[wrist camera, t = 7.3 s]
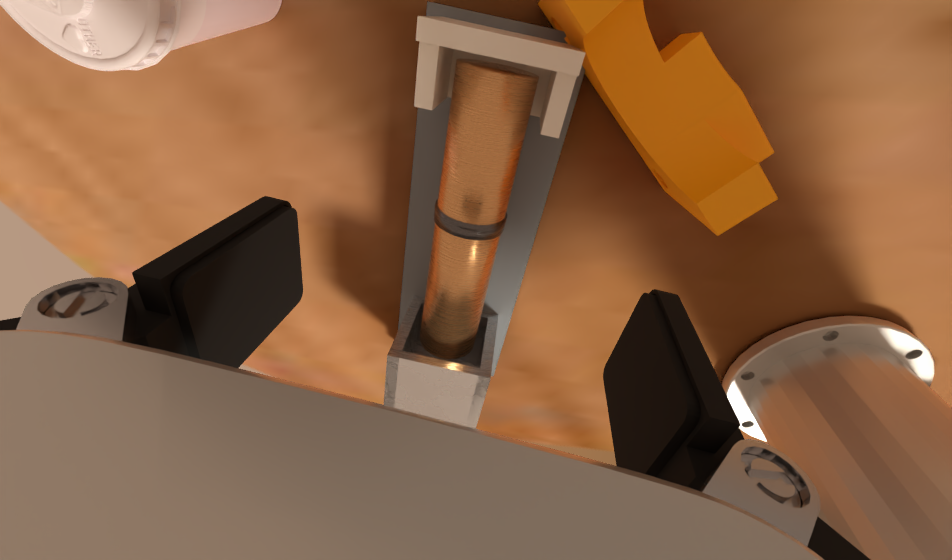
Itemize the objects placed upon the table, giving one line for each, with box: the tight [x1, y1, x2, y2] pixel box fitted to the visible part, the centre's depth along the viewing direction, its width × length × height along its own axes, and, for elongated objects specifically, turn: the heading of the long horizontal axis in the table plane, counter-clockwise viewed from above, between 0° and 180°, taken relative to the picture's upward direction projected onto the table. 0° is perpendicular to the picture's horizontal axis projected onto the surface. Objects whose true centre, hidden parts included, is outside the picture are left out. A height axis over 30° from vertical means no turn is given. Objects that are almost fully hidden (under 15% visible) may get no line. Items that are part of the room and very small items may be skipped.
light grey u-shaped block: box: [414, 16, 585, 138], centre depth 18 cm, size 6×3×5 cm, turn 80°
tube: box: [420, 59, 539, 359], centre depth 21 cm, size 4×16×4 cm, turn 170°
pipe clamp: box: [538, 0, 778, 236], centre depth 17 cm, size 12×4×6 cm, turn 42°
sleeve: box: [384, 296, 498, 429], centre depth 27 cm, size 6×6×6 cm
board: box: [398, 1, 585, 376], centre depth 25 cm, size 8×24×1 cm, turn 170°
